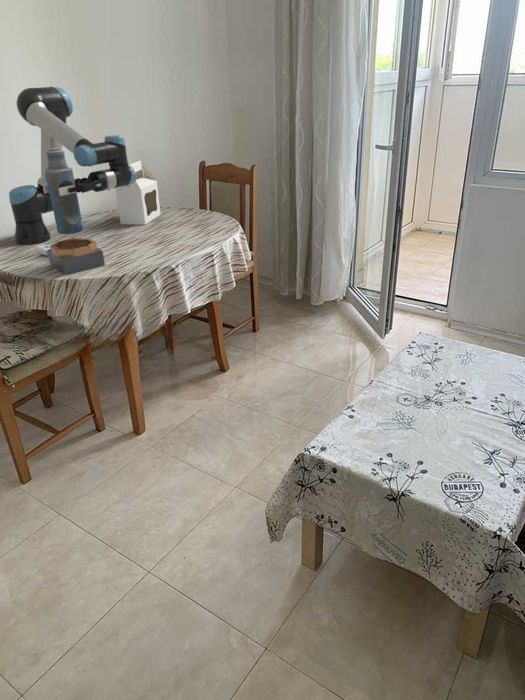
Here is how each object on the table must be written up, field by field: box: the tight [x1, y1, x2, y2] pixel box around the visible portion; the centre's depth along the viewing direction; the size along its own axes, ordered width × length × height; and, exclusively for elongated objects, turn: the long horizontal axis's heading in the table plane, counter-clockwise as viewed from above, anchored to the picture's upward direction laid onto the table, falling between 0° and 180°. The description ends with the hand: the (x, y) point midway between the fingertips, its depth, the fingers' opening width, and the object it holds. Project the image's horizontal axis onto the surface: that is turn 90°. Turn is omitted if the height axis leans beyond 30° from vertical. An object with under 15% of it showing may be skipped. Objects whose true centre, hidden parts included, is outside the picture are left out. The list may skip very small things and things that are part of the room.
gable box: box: [115, 159, 161, 226], centre depth 266 cm, size 22×13×28 cm, turn 169°
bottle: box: [45, 148, 84, 235], centre depth 195 cm, size 10×10×30 cm
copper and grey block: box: [46, 237, 106, 276], centre depth 206 cm, size 16×16×8 cm
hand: (51, 190), depth 191 cm, fingers closed on bottle, 9 cm apart
